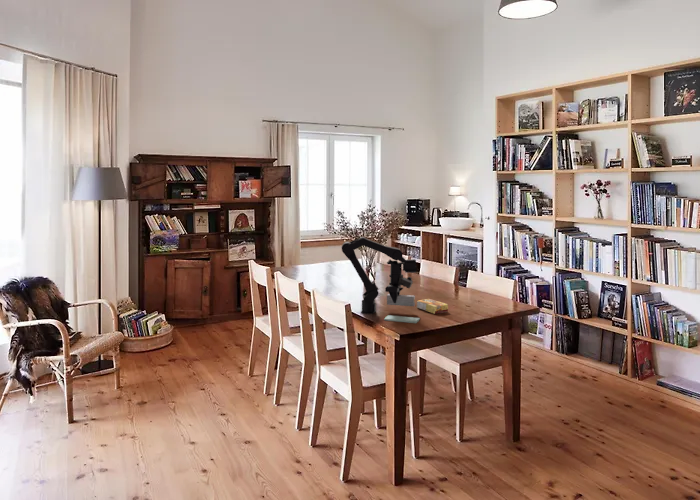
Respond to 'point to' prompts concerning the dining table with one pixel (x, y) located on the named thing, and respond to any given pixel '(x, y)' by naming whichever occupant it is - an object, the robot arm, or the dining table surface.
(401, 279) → the robot arm
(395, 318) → the pad
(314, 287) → the dining table surface
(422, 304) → the candy box
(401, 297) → the bar
